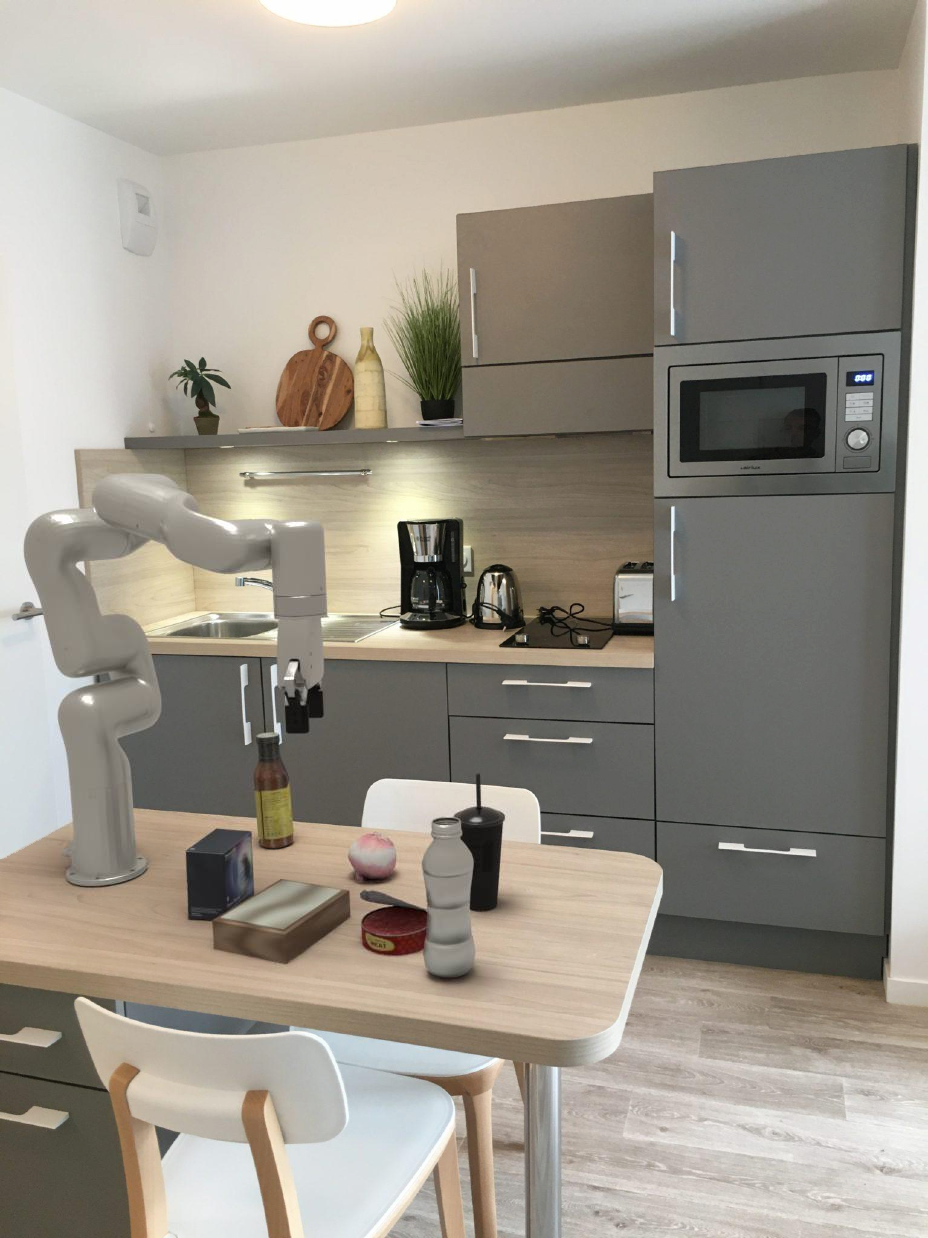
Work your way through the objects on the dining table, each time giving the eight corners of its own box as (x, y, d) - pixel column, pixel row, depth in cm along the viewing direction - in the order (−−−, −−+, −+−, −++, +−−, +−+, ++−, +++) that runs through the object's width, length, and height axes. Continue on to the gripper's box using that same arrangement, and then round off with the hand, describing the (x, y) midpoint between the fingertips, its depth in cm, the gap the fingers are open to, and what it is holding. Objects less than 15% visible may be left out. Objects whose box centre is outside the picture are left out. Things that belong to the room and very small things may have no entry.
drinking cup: (514, 899, 151) (512, 769, 149) (494, 918, 144) (491, 783, 142) (468, 891, 155) (465, 765, 152) (447, 910, 148) (443, 778, 145)
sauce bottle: (301, 841, 179) (296, 732, 177) (277, 852, 174) (271, 740, 172) (274, 835, 183) (268, 729, 180) (249, 846, 178) (243, 736, 175)
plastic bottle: (422, 962, 131) (417, 814, 129) (474, 959, 132) (470, 812, 130) (424, 986, 125) (419, 831, 123) (478, 982, 126) (474, 828, 123)
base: (213, 948, 137) (212, 918, 137) (282, 904, 151) (281, 877, 151) (286, 963, 132) (285, 932, 132) (350, 916, 146) (349, 888, 146)
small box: (227, 923, 145) (224, 853, 144) (186, 920, 147) (182, 851, 146) (257, 894, 156) (253, 829, 154) (218, 892, 157) (214, 827, 156)
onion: (403, 878, 163) (409, 842, 161) (369, 897, 158) (375, 860, 155) (369, 853, 168) (374, 818, 165) (334, 871, 162) (340, 835, 159)
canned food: (362, 970, 140) (342, 899, 143) (428, 948, 144) (408, 879, 146) (380, 965, 130) (359, 889, 133) (451, 941, 134) (429, 868, 137)
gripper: (289, 601, 151) (294, 712, 153) (258, 614, 134) (264, 739, 136) (338, 600, 151) (342, 712, 153) (313, 613, 134) (318, 739, 136)
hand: (305, 725), depth 145 cm, fingers open, 9 cm apart
